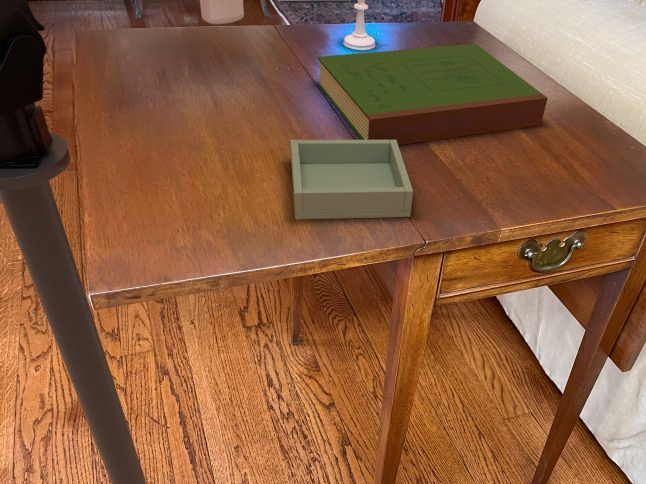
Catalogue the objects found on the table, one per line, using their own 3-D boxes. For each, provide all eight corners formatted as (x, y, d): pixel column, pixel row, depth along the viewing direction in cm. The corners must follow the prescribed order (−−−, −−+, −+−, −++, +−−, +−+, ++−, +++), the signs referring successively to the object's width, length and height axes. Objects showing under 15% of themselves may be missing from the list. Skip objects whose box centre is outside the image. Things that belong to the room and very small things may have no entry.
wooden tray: (295, 219, 63) (294, 192, 61) (291, 165, 71) (290, 139, 68) (410, 217, 65) (413, 191, 63) (394, 164, 73) (396, 139, 70)
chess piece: (377, 40, 101) (381, -28, 95) (372, 52, 97) (376, -19, 91) (346, 37, 101) (348, -32, 95) (341, 48, 98) (342, -23, 91)
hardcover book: (369, 149, 75) (370, 119, 72) (317, 84, 87) (317, 56, 84) (545, 124, 84) (552, 97, 81) (476, 68, 96) (480, 43, 93)
